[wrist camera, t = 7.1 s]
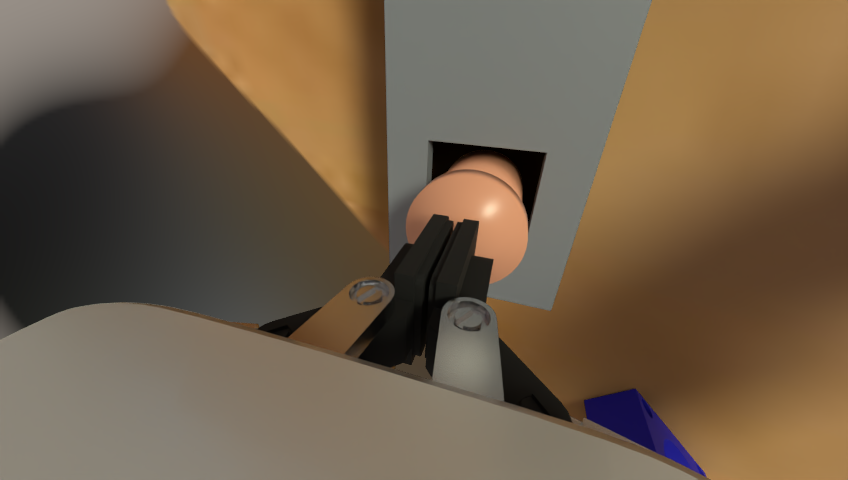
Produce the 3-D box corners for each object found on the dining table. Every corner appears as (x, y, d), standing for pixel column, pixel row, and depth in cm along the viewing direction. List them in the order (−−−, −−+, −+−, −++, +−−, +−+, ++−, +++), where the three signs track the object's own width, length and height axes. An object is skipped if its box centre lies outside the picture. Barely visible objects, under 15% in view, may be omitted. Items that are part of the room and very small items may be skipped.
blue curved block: (583, 398, 28) (595, 469, 23) (634, 386, 26) (660, 462, 21) (651, 475, 30) (675, 555, 25) (703, 470, 28) (741, 557, 23)
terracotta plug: (537, 149, 16) (541, 186, 11) (519, 234, 18) (514, 297, 13) (443, 139, 17) (406, 168, 12) (437, 220, 19) (405, 273, 14)
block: (739, -426, 10) (962, -956, 5) (546, 257, 23) (550, 310, 18) (437, -341, 12) (371, -633, 7) (418, 234, 25) (389, 275, 20)
